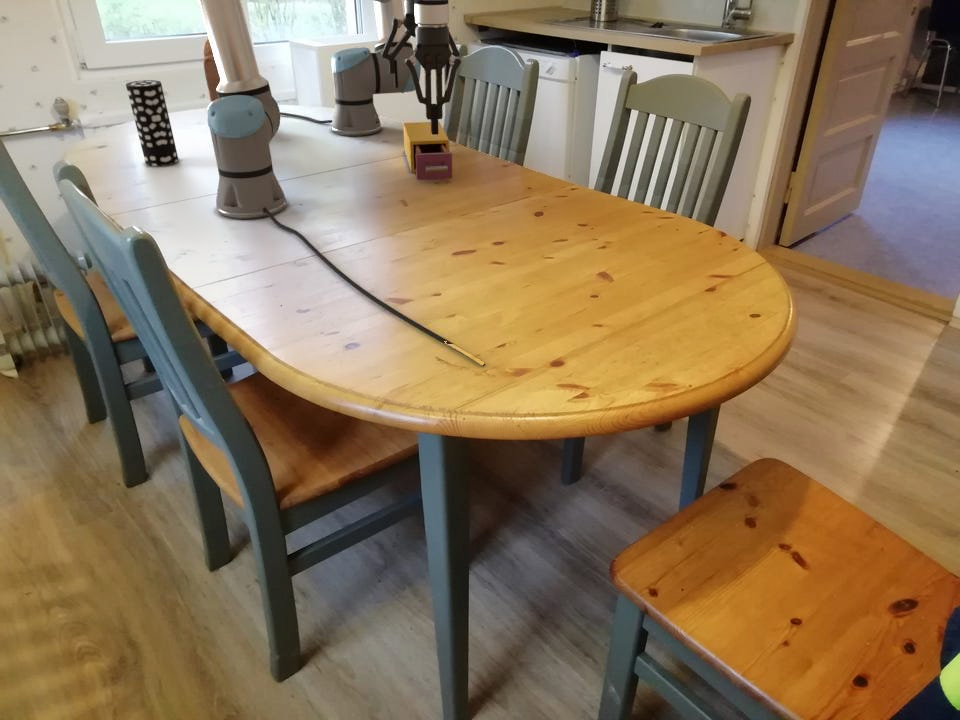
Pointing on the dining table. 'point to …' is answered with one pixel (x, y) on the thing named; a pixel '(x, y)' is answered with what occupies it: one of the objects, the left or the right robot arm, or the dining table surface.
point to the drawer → (432, 161)
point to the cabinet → (421, 139)
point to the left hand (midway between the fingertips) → (434, 132)
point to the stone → (211, 71)
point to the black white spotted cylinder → (152, 122)
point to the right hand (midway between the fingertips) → (421, 86)
